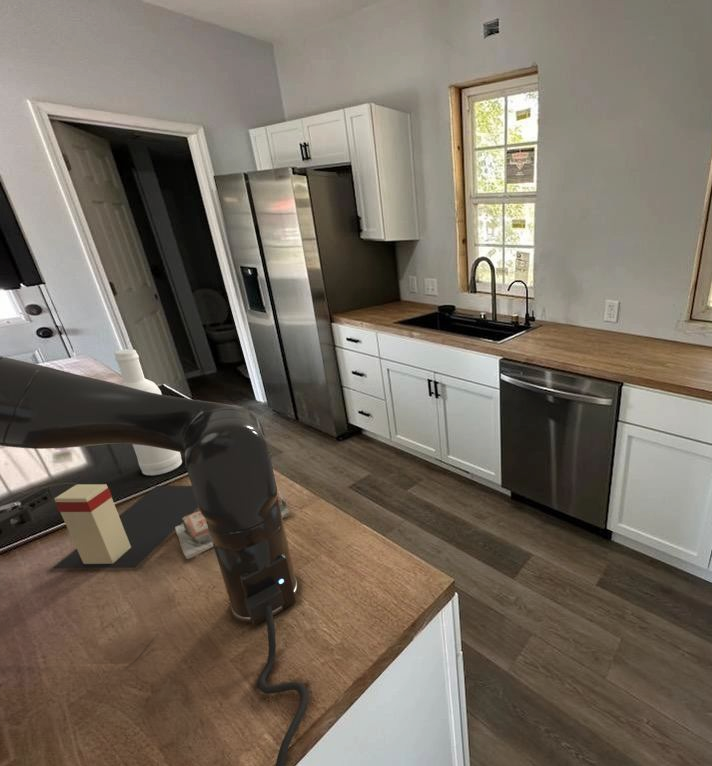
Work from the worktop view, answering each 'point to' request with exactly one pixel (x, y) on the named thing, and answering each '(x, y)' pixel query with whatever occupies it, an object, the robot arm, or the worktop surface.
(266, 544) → the robot arm
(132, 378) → the bottle
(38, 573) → the worktop surface
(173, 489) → the mat
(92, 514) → the carton
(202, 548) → the packaged product
